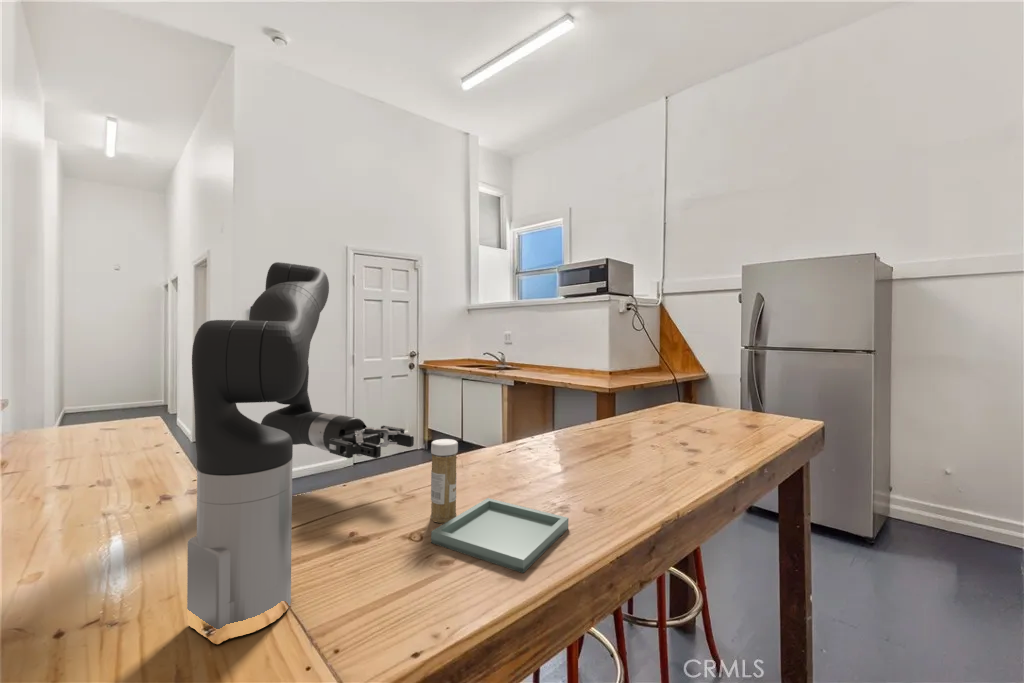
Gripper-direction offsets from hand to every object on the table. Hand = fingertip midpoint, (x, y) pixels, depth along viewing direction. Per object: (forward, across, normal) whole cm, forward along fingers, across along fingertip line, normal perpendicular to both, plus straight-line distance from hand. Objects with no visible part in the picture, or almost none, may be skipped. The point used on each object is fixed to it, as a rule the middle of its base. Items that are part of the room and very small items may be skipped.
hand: (396, 446), depth 82 cm
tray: (+24, 0, +10) cm, 26 cm away
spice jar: (+12, 0, +11) cm, 16 cm away
